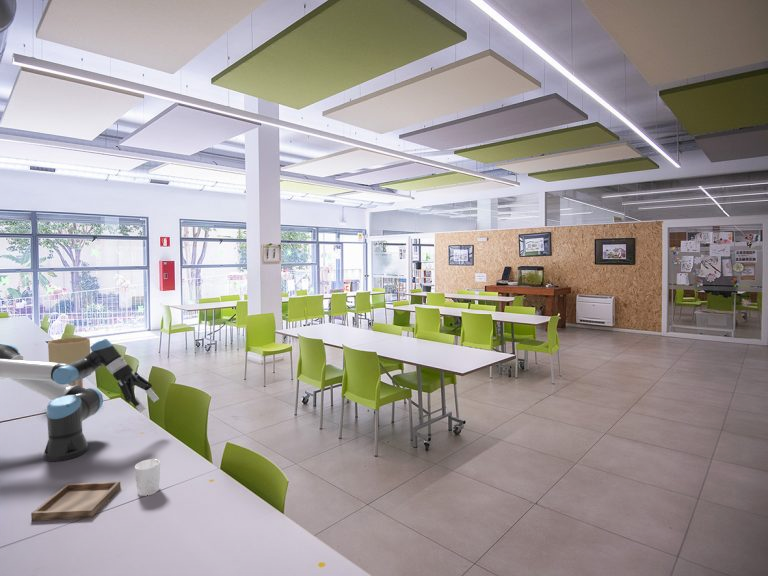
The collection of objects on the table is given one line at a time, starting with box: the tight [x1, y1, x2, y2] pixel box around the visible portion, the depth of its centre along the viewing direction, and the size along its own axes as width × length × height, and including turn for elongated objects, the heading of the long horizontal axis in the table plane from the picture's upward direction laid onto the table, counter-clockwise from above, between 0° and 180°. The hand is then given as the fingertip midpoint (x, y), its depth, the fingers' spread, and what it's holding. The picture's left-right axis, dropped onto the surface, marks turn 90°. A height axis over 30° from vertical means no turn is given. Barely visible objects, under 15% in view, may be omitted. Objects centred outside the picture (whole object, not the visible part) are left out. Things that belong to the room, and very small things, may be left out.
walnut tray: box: [30, 480, 121, 522], centre depth 147 cm, size 18×18×2 cm
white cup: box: [134, 458, 161, 497], centre depth 155 cm, size 8×8×10 cm
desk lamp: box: [47, 336, 91, 403], centre depth 251 cm, size 20×20×35 cm
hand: (150, 405), depth 199 cm, fingers open, 13 cm apart
